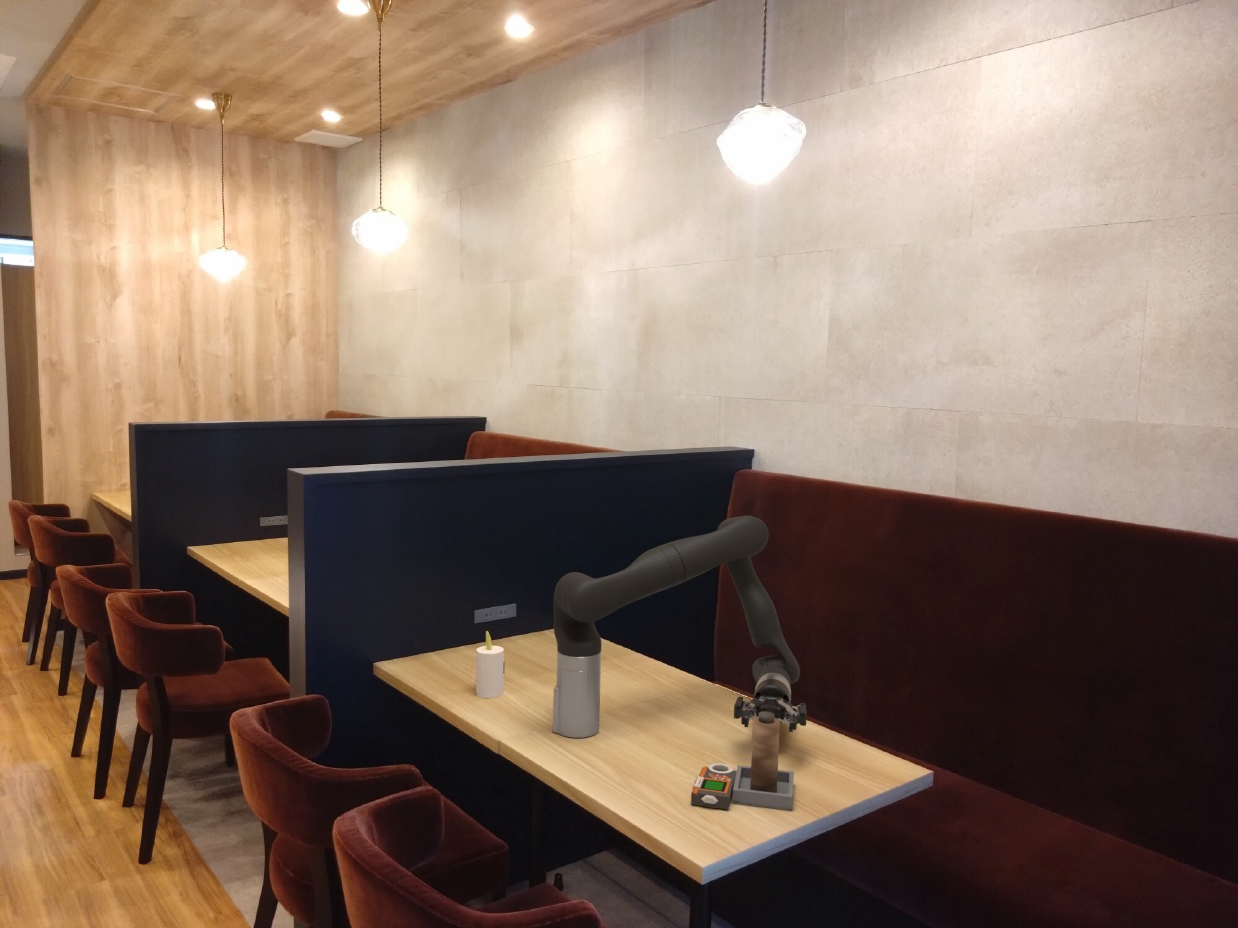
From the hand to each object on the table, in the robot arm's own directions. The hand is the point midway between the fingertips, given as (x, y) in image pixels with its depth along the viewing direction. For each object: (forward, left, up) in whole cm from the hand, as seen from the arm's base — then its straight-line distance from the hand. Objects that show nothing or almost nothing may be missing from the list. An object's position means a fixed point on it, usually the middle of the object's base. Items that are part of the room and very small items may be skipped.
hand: (768, 724), depth 175 cm
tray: (0, -11, -9) cm, 14 cm away
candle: (-65, +23, -9) cm, 69 cm away
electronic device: (-9, -12, -9) cm, 17 cm away
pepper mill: (0, -11, -8) cm, 14 cm away
